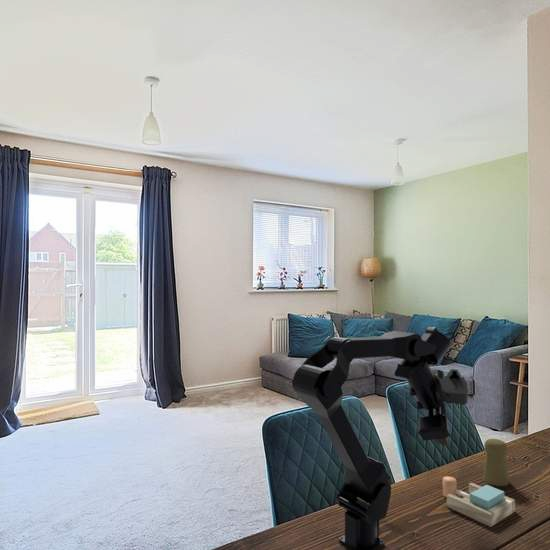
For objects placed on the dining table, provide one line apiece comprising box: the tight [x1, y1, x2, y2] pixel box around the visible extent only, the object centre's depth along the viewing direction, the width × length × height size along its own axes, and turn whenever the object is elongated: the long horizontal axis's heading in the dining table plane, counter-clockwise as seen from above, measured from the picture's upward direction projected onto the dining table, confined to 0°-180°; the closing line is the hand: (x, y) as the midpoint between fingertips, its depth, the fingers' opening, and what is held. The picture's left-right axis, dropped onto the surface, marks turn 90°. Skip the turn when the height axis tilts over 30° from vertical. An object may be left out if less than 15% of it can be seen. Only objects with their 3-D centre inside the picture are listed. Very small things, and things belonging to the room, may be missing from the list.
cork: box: [482, 438, 510, 487], centre depth 113 cm, size 6×6×11 cm
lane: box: [446, 482, 516, 528], centre depth 99 cm, size 10×10×4 cm
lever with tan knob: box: [442, 476, 505, 510], centre depth 101 cm, size 7×12×5 cm, turn 36°
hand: (444, 429), depth 104 cm, fingers open, 9 cm apart
